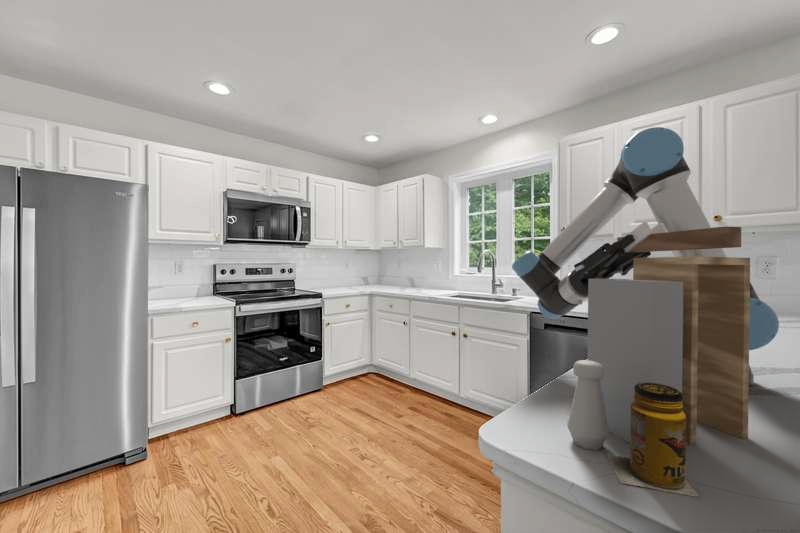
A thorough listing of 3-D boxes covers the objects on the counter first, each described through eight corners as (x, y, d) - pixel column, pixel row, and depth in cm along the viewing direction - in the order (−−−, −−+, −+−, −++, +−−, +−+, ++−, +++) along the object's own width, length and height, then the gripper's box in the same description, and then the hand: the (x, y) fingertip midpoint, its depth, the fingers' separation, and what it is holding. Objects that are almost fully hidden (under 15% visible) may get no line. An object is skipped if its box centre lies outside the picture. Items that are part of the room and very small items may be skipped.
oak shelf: (682, 411, 70) (684, 259, 70) (748, 438, 59) (750, 257, 59) (631, 416, 67) (633, 257, 67) (690, 444, 57) (692, 256, 57)
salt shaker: (614, 455, 53) (615, 368, 53) (573, 450, 54) (574, 365, 54) (600, 436, 59) (601, 358, 59) (563, 433, 60) (564, 356, 60)
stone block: (613, 415, 68) (615, 278, 68) (681, 449, 55) (683, 281, 55) (586, 417, 66) (588, 278, 67) (649, 453, 54) (651, 281, 54)
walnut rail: (629, 252, 77) (629, 237, 77) (741, 247, 57) (741, 227, 57) (617, 252, 76) (617, 237, 77) (725, 246, 56) (725, 226, 56)
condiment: (699, 498, 44) (700, 399, 44) (620, 484, 46) (621, 391, 46) (674, 466, 51) (674, 381, 51) (606, 456, 53) (607, 375, 53)
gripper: (615, 296, 89) (699, 244, 69) (558, 297, 85) (629, 243, 66) (603, 270, 93) (680, 214, 73) (548, 270, 89) (613, 211, 69)
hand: (656, 228), depth 69 cm, fingers closed on walnut rail, 3 cm apart
